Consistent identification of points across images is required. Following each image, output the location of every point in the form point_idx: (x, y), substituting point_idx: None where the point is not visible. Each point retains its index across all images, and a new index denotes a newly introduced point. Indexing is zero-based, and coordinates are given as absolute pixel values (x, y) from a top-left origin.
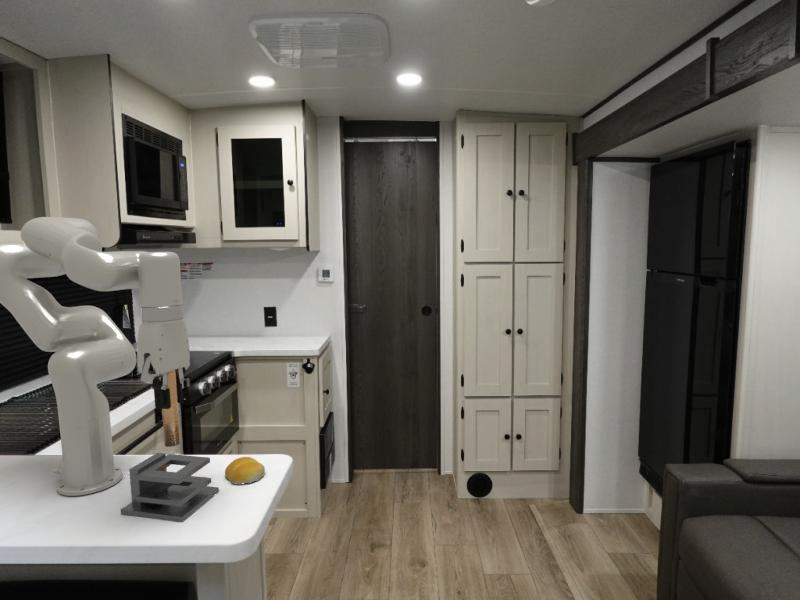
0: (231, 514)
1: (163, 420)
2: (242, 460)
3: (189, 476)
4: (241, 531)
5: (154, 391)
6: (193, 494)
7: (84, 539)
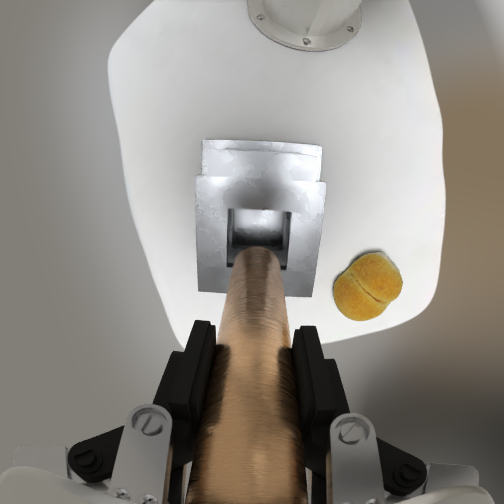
0: None
1: (225, 302)
2: (379, 292)
3: None
4: None
5: (172, 388)
6: None
7: (131, 143)
